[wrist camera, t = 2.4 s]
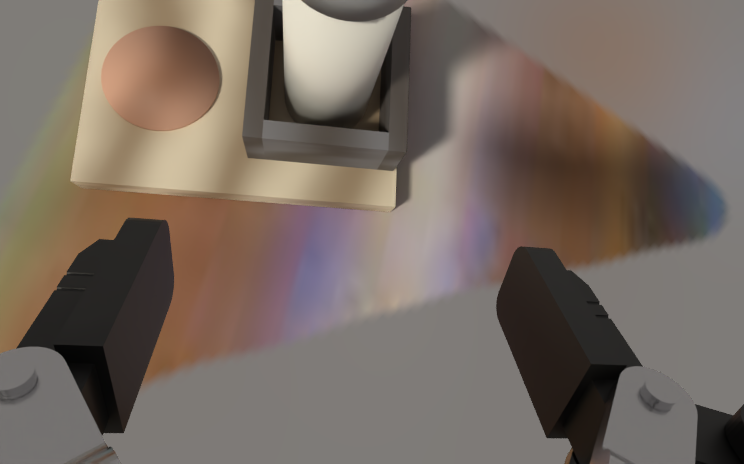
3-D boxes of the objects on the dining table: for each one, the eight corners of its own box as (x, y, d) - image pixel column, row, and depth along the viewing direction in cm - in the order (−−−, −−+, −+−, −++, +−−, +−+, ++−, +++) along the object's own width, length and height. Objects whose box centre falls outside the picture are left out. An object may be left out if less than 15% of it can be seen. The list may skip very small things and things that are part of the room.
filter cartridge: (278, 134, 29) (267, -29, 15) (284, 50, 30) (280, -174, 16) (368, 143, 30) (434, -4, 16) (372, 61, 31) (437, -143, 17)
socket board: (81, 188, 28) (38, 160, 23) (112, -15, 30) (79, -79, 25) (390, 212, 31) (409, 192, 26) (397, 24, 33) (415, -27, 28)
